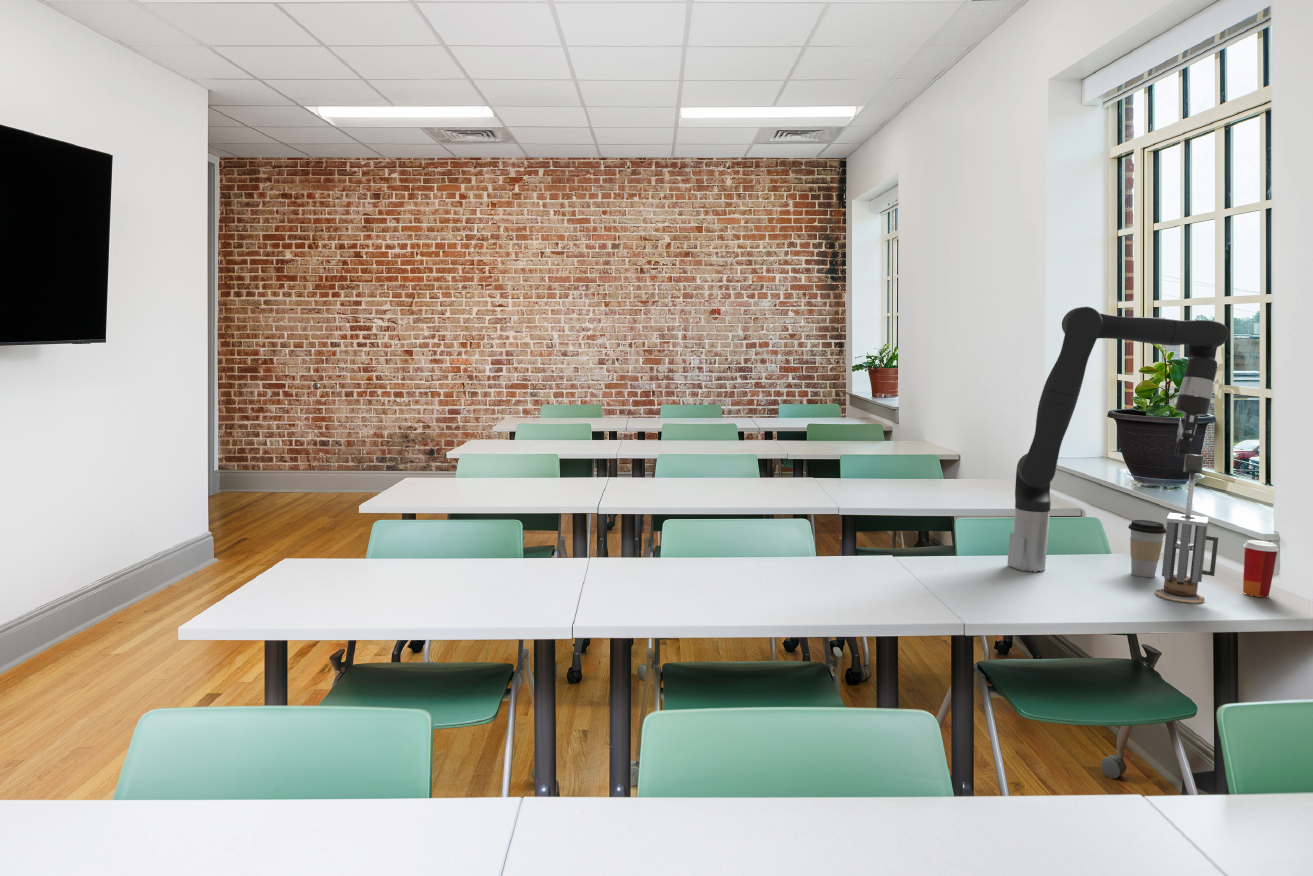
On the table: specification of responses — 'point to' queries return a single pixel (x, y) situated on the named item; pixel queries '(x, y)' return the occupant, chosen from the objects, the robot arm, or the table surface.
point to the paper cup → (1258, 567)
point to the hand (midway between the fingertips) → (1180, 455)
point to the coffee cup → (1145, 546)
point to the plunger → (1191, 484)
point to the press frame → (1185, 559)
